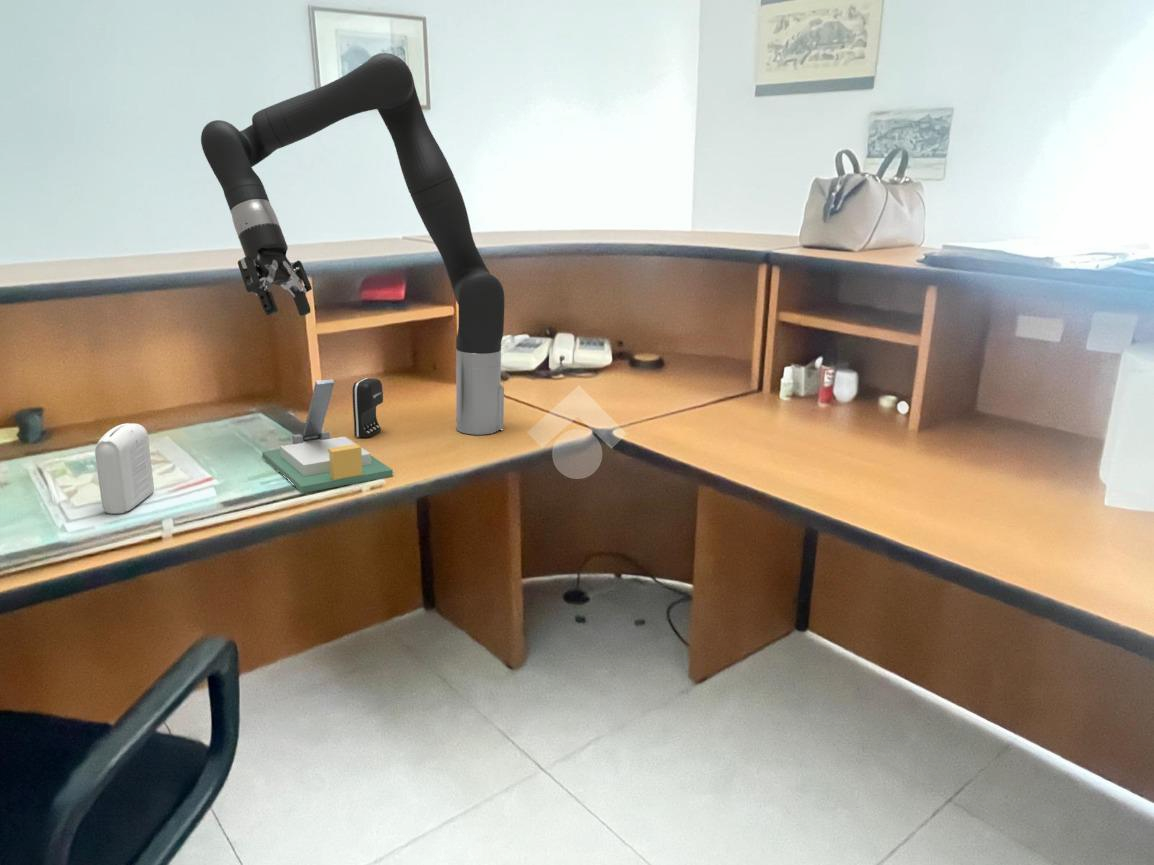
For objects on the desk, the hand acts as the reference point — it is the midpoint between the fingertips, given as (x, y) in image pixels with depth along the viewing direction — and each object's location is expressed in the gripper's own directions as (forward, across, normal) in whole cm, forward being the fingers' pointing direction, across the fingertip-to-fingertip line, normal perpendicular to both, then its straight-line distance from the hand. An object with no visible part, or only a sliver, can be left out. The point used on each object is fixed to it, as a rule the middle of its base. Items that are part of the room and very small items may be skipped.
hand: (289, 314), depth 145 cm
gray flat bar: (+19, -2, 0) cm, 19 cm away
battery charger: (+24, +18, +6) cm, 31 cm away
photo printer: (+25, -29, +18) cm, 42 cm away
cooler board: (+28, -2, +3) cm, 29 cm away
